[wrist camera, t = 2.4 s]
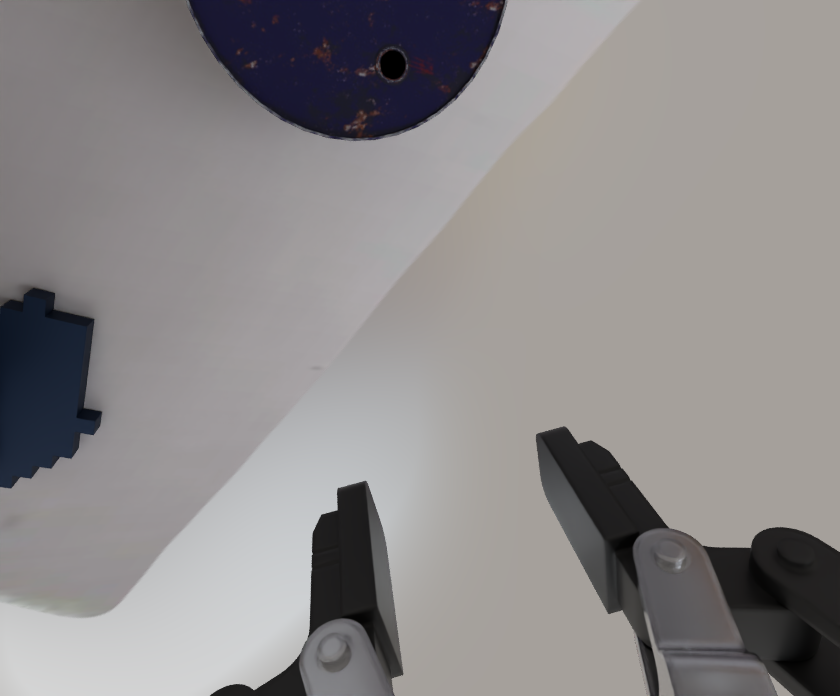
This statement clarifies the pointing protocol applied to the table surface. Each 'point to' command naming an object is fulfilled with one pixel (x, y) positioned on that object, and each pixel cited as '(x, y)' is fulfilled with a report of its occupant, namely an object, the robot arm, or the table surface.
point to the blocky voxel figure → (42, 385)
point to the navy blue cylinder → (351, 58)
